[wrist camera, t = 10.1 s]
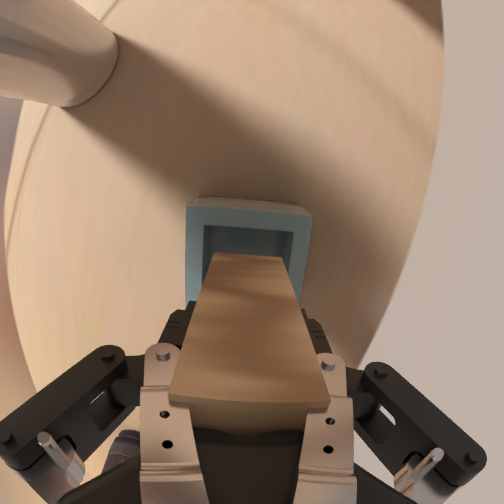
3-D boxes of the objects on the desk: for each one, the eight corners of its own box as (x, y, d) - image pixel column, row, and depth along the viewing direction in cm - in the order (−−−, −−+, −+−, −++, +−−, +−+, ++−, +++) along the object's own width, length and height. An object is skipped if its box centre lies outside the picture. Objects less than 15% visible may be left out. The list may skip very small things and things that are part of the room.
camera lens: (163, 435, 33) (144, 516, 19) (162, 456, 36) (147, 526, 21) (113, 420, 33) (85, 495, 18) (118, 443, 35) (96, 508, 21)
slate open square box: (197, 286, 26) (185, 317, 20) (200, 196, 23) (186, 205, 18) (286, 293, 26) (295, 324, 21) (298, 204, 23) (313, 216, 18)
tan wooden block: (211, 311, 17) (181, 464, 7) (214, 252, 16) (167, 392, 6) (273, 315, 18) (298, 469, 7) (281, 257, 16) (331, 400, 6)
